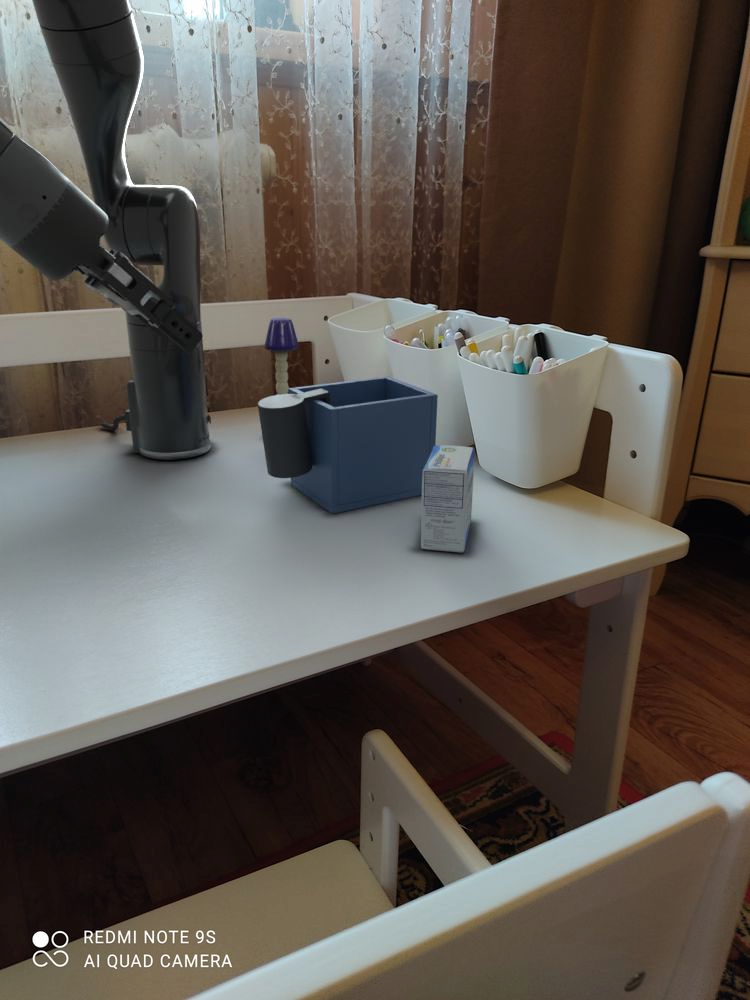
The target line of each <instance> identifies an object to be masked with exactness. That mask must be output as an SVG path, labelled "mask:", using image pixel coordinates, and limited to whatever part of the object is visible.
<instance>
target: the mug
mask: <svg viewBox="0 0 750 1000" xmlns="http://www.w3.org/2000/svg"><path fill="white" fill-rule="evenodd" d="M317 399H319V400H320V401H322V402H324V403H326V404H329V405H331V403H330V393H329V392H328V391H326V390H324V389H316V390H312V391H308V392H304V393H300V394H280V395H277V394H275V395H270V396H266V397H264V398H262V399H260V400H259V401H258V402H257V409H258V415H259V423H260V429H261V436H262V444H263V450H264V456H265V463H266V470H267V474H268V475H269V476H270V477H273V478H277V479H291V478H293V477H298V476H301V475H304V474H306V473H308V472H309V471H311V469H312V459H311V451H310V443H309V434H308V426H307V418H306V410H305V402H309V401H313V400H317Z"/></svg>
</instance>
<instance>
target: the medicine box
mask: <svg viewBox="0 0 750 1000" xmlns="http://www.w3.org/2000/svg"><path fill="white" fill-rule="evenodd" d="M475 451H476V450H475V448H474V447H471V446H463V445H450V444H448V445H447V444H444V445H443V444H441V445H438V444H437V445H435V446H434V448H433V450H432V453H431V455H430V457H429V459H428V461H427V464H426V466H425V468H424V469H423V475H422V495H421V509H420V510H421V513H420V515H421V516H420V548H421V549H423V550H427V551H437V552H449V553H460V554H463V553H464V552H465V549H466V545H467V541H468V536H469V533H470V532H469V531H470V528H471V522H472V511H473V491H474V490H473V489H474V474H475V473H474V472H475V457H476V456H475V453H476V452H475Z"/></svg>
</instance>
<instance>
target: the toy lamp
mask: <svg viewBox="0 0 750 1000" xmlns="http://www.w3.org/2000/svg"><path fill="white" fill-rule="evenodd" d="M264 349H265V350H267V351H272V352H274V357H275V363H274V367H275V371H276V372H275V380H276V382H275V383H276V384H275V390H276V395H280V394H288V389H289V388H290V387H289V383H288V380H289V373H288V368H289V363H288V361H287V360H288V357H289V352H290V351H292V352H293V351H296V350H298V349H299V341H298V337H297V334H296V330H295V325H294V323H293V320H292V319H291V318H287V317H275V318H274V317H273V318H271V319H270V320H269V323H268V328H267V332H266V336H265V341H264Z"/></svg>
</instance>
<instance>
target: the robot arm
mask: <svg viewBox="0 0 750 1000" xmlns="http://www.w3.org/2000/svg"><path fill="white" fill-rule="evenodd" d="M31 1H32V5H33V7H34V11H35V14H36V18H37V22H38V23H39V28H40V31H41V34H42V37H43V40H44V43H45V46H46V48H47V52H48V54H49V58H50V61H51V64H52V67H53V69H54V71H55V74H56V77H57V79H58V82H59V85H60V88H61V91H62V94H63V97H64V99H65V103H66V106H67V108H68V111H69V112H68V113H69V115H70V118H71V121H72V124H73V127H74V130H75V133H76V137H77V141H78V143H79V146H80V151H81V154H82V158H83V163H84V165H85V171H86V175H87V180H88V183H89V187H90V191H91V195H92V196H91V197H92V199H93V200H92V199H91V198H90V197H89V196H87V195H86V194H85V193H84V192H83V191H82V190H81V189H80V188H79V187H78V186H77V185H76V184H75V183H74V182H73V181H72V180H70V179H69V178H68V177H67V176H66V175H65V174H63V172H62V171H60V169H58V168H57V167H56V166H55V165H54V164H53V163H52V162H51V161H50V160H49V159H47V157H45V156H44V155H43V154H42V153H41V152H40V151H38V150H36V148H34V147H32V146H31V145H29V144H28V143H27V142H25V141H24V140H23V139H22V138H20V137H19V136H18V135H17V134H15V133H14V131H13V130H11V128H9V127H8V126H7V125H6V124H5V123H4V122H3V121H2V120H0V240H1V241H2V242H3V243H4V244H5V245H7V246H8V247H9V248H10V249H12V251H14V252H15V253H17V254H18V255H19V256H20V257H21V258H23V259H24V261H26V262H28V263H29V264H30V265H31V266H32V267H34V269H36V270H37V271H39V272H40V273H41V274H42V275H43V276H45V277H46V278H47V279H48V280H50V281H53V282H57V281H61V280H63V279H65V278H66V277H68V276H69V275H70V274H72V273H73V272H74V271H75V272H78V273H80V274H81V276H83V277H84V279H83V283H84V284H85V285H86V286H87V287H88V288H89V289H90V290H92V291H93V292H95V293H96V294H97V295H100V296H101V297H102V298H104V300H107V301H108V302H109V303H110V304H112V305H113V306H115V307H117V306H119V307H121V310H122V311H124V313H125V322H126V329H127V330H126V331H127V339H128V347H129V348H128V350H129V359H130V367H131V377H132V379H131V380H129V381H127V382H126V386H125V387H126V396H127V404H128V409H126V410H125V411H124V414H121V415H119V416H116V417H115V418H114V419H113V421H112V424H110V423H108V422H105V421H102V422H101V423H100V426H101V427H102V428H105V429H107V430H110V431H117V430H118V429H119V424H120V422H123V421H125V429H126V431H127V432H131V433H130V434H131V441H132V442H131V443H132V449H133V450H132V451H133V453H134V454H140V455H142V456H144V457H146V458H149V459H155V460H162V461H163V460H164V461H166V460H167V461H170V460H171V461H172V460H184V459H190V458H194V457H198V456H201V455H203V454H206V453H207V452H208V451H210V449H211V447H212V446H211V439H210V427H209V424H210V425H212V417H211V416H210V415H209V413H208V411H209V410H208V399H207V397H208V396H207V384H206V371H205V369H206V368H205V355H204V342H203V341H204V340H203V336H204V335H203V327H202V313H201V306H202V305H201V303H202V277H201V276H202V274H201V231H200V230H201V227H200V218H199V217H200V215H199V211H198V207H197V203H196V201H195V198H194V195H192V193H191V192H190V191H189V190H188V189H187V188H186V187H183V186H179V185H163V184H162V185H160V184H159V185H158V184H157V185H155V184H153V185H152V184H134V183H133V181H132V180H131V177H130V174H129V171H128V167H127V162H126V153H125V152H126V151H125V143H126V137H127V131H128V127H129V123H130V121H131V117H132V114H133V111H134V108H135V105H136V102H137V99H138V96H139V92H140V88H141V84H142V81H143V76H144V66H145V65H144V63H145V59H144V54H143V49H142V44H141V40H140V37H139V33H138V32H139V31H138V29H137V24H136V20H135V17H134V12H133V10H132V8H133V7H132V5H131V1H130V0H31ZM102 237H103V239H104V242H105V244H106V247H107V249H108V250H107V249H106V248H104V247H103V246H102V245H101V238H102ZM134 265H135V266H161V267H162V266H163V269H162V278H161V280H160V282H159V283H158V284H157V285H156V284H155V283H154V281H153V280H152V279H151V278H149V277H148V275H146V274H145V273H143V272H142V271H141V270H140V269H138V268H137V267H135V266H134Z"/></svg>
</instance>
